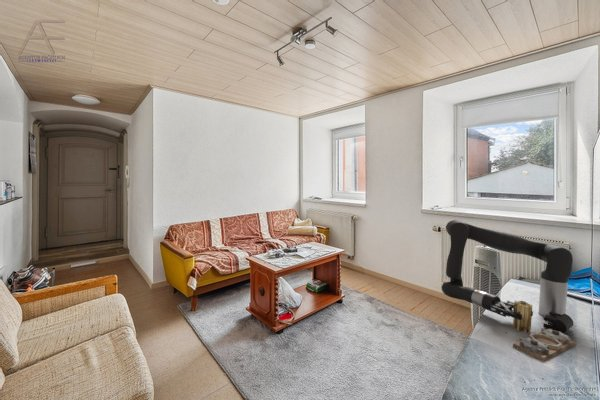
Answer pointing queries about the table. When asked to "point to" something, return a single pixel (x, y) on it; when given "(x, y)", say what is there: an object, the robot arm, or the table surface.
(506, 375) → the table surface
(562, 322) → the end cap
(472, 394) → the table surface
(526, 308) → the pinion
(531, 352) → the gear board
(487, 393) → the table surface
